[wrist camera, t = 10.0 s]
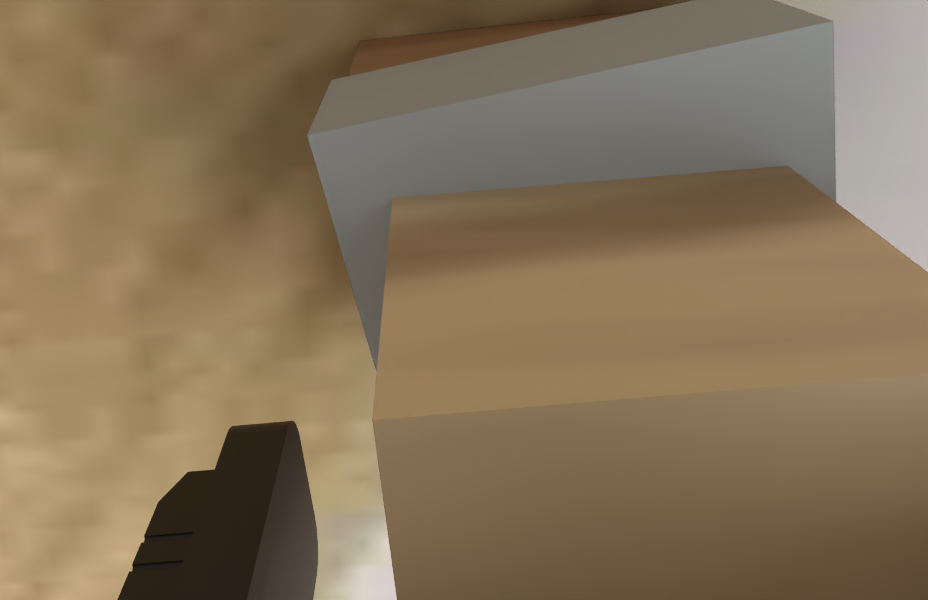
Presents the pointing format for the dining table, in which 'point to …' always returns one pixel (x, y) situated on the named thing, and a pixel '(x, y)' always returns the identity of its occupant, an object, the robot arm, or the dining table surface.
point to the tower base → (454, 42)
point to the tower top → (576, 116)
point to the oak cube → (652, 394)
